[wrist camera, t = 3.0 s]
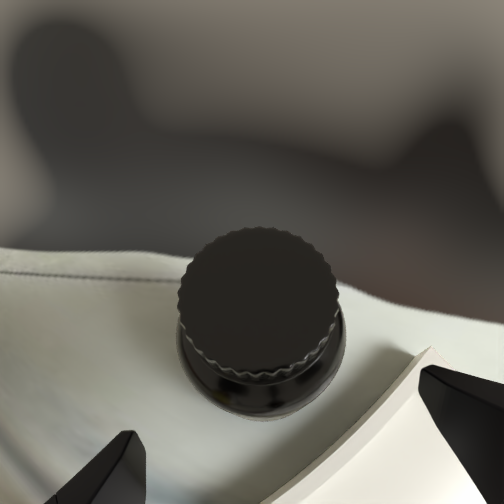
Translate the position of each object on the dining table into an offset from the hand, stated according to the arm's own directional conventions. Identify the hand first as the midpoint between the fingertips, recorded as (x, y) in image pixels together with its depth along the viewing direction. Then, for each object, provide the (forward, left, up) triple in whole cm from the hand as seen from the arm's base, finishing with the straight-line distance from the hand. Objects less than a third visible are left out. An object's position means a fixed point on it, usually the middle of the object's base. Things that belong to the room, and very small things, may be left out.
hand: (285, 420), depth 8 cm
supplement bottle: (+2, +3, -11) cm, 11 cm away
